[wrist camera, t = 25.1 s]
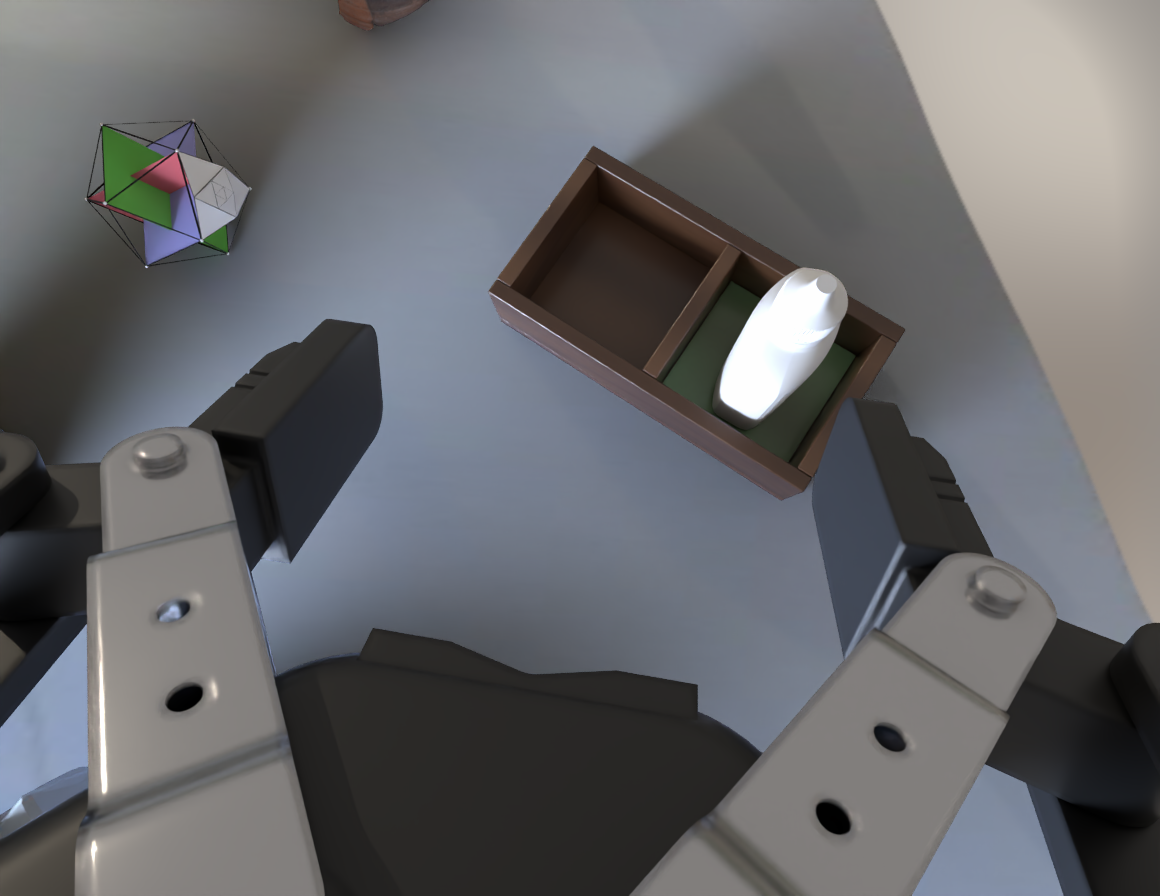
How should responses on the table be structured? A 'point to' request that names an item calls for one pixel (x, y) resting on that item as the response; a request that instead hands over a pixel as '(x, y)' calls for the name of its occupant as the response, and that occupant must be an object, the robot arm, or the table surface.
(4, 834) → the white plastic case
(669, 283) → the brown wooden divided tray
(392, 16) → the broken clay pot
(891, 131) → the table surface
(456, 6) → the table surface
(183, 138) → the geometric puzzle
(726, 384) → the eye dropper bottle
